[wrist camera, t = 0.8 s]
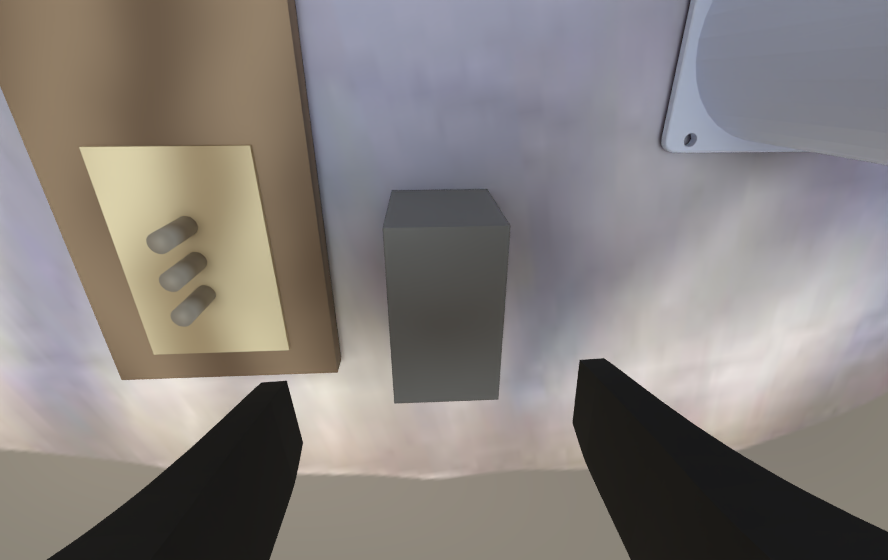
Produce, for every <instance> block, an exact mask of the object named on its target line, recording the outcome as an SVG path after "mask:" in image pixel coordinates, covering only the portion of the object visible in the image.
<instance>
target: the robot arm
mask: <svg viewBox="0 0 888 560" xmlns="http://www.w3.org/2000/svg"><path fill="white" fill-rule="evenodd" d="M688 134H691V140H690V142H689V143H688V144H687V145H685V144H684V139H685V137H686V136H687V135H688ZM661 144H662V147H663V148H664V149H665V150H666V151H669V152H673V153H715V152H815V153H821V154H826V155H832V156H838V157H843V158H849V159H855V160H860V161H866V162H872V163H877V164H883V165H888V0H691V2H690V7H689V12H688V16H687V21H686V26H685V31H684V35H683V40H682V45H681V49H680V54H679V59H678V64H677V68H676V73H675V78H674V83H673V87H672V92H671V97H670V101H669V106H668V111H667V116H666V120H665V125H664V130H663V134H662V140H661ZM573 426H574V429H575V432H576V435H577V438H578V442H579V445H580V448H581V451H582V454H583V457H584V459H585V462H586V464H587V467H588V469H589V471H590V473H591V475H592V478H593V480H594V482H595V484H596V486H597V488H598V491H599V493H600V495H601V497H602V499H603V501H604V503H605V506H606V508H607V510H608V512H609V514H610V516H611V518H612V520H613V523H614V524H615V527H616V529H617V531H618V533H619V535H620V537H621V539H622V542H623V544H624V546H625V548H626V550H627V552H628V554H629V557H630V559H631V560H888V532H887V531H885V530H882V529H880V528H879V527H876V526H874V525H872V524H870V523H868V522H866V521H864V520H862V519H860V518H857V517H855V516H853V515H851V514H849V513H847V512H846V511H844V510H841V509H840V508H837V507H836V506H833V505H832V504H829V503H828V502H826V501H824V500H822V499H820V498H818V497H816V496H814V495H812V494H810V493H808V492H806V491H804V490H802V489H801V488H799V487H797V486H795V485H793V484H791V483H789V482H788V481H786V480H784V479H782V478H780V477H779V476H777V475H775V474H773V473H772V472H770V471H768V470H766V469H765V468H763V467H761V466H760V465H758V464H756V463H754V462H753V461H751V460H749V459H748V458H746V457H744V456H742V455H741V454H739V453H738V452H736V451H734V450H733V449H731V448H730V447H728V446H726V445H725V444H723V443H722V442H720V441H719V440H717V439H716V438H714V437H713V436H711V435H710V434H708V433H707V432H705V431H704V430H702V429H700V428H699V427H697V426H696V425H695V424H693V423H692V422H690V421H689V420H687V419H686V418H684V417H683V416H682V415H680V414H679V413H677V412H676V411H675V410H673V409H672V408H670V407H669V406H668V405H666V404H665V403H663V402H662V401H661V400H659V399H658V398H657V397H655V396H654V395H653V394H651V393H650V392H649V391H647V390H646V389H645V388H643V387H642V386H641V385H639V384H638V383H637V382H635V381H634V380H633V379H631V378H630V377H629V376H627V375H626V374H625V373H623V372H622V371H621V370H619V369H618V368H617V367H615V366H614V365H613V364H611V363H610V362H609V361H607V360H606V359H604V358H602V359H588V360H580V362H579V371H578V379H577V388H576V397H575V406H574V414H573ZM302 445H303V441H302V437H301V434H300V430H299V426H298V422H297V418H296V414H295V411H294V407H293V403H292V399H291V395H290V392H289V388H288V384H287V381H277V382H263V383H261V384H259V385H258V386H257V387H256V388H255V389H254V390H253V391H251V392H250V393H249V394H248V395H247V396H246V397H245V398H244V399H243V400H242V401H241V402H240V403H239V404H238V405H237V406H236V407H234V408H233V409H232V410H231V411H230V412H229V413H228V414H227V415H226V416H225V417H224V418H223V419H222V420H221V421H220V422H219V423H217V424H216V425H215V426H214V427H213V428H212V429H211V430H210V431H209V432H208V433H207V434H206V435H205V436H203V437H202V438H201V439H200V440H199V441H198V442H197V443H196V444H195V445H194V446H193V447H191V448H190V449H189V450H188V451H187V452H186V453H185V454H183V455H182V456H181V457H180V458H179V459H178V460H176V461H175V462H174V463H173V464H172V465H171V466H169V467H168V468H167V469H166V470H165V471H164V472H162V473H161V474H160V475H159V476H158V477H157V478H155V479H154V480H153V481H152V482H151V483H150V484H149V485H147V486H146V487H145V488H144V489H142V490H141V491H140V492H139V493H137V494H136V495H135V496H134V497H132V498H131V499H130V500H129V501H127V502H126V503H125V504H123V505H122V506H121V507H120V508H118V509H117V510H116V511H115V512H113V513H112V514H110V515H109V516H108V517H106V518H105V519H104V520H102V521H101V522H100V523H98V524H97V525H96V526H95V527H93V528H92V529H90V530H89V531H88V532H86V533H85V534H84V535H82V536H81V537H79V538H78V539H76V540H75V541H73V542H72V543H71V544H69V545H68V546H66V547H65V548H63V549H62V550H60V551H59V552H57V553H56V554H55V555H53V556H51V557H50V558H49V559H47V560H269V559H270V556H271V553H272V550H273V547H274V544H275V541H276V538H277V536H278V533H279V530H280V527H281V523H282V521H283V518H284V515H285V512H286V509H287V506H288V503H289V500H290V497H291V494H292V491H293V487H294V484H295V480H296V475H297V471H298V466H299V461H300V456H301V451H302Z"/></svg>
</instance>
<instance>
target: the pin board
mask: <svg viewBox="0 0 888 560" xmlns="http://www.w3.org/2000/svg"><path fill="white" fill-rule="evenodd" d="M0 86H1V89H2V91H3V94H4V96H5V99H6V101H7V103H8V106H9V108H10V111H11V113H12V116H13V118H14V120H15V123H16V125H17V128H18V130H19V132H20V135H21V137H22V140H23V142H24V145H25V147H26V149H27V152H28V154H29V157H30V159H31V162H32V164H33V166H34V169H35V171H36V174H37V176H38V178H39V181H40V183H41V186H42V188H43V191H44V193H45V195H46V198H47V200H48V203H49V205H50V207H51V210H52V212H53V215H54V217H55V220H56V222H57V224H58V227H59V229H60V232H61V234H62V237H63V239H64V241H65V244H66V246H67V249H68V251H69V253H70V256H71V258H72V261H73V263H74V266H75V268H76V270H77V273H78V275H79V278H80V280H81V283H82V285H83V287H84V290H85V292H86V295H87V297H88V299H89V302H90V304H91V307H92V309H93V312H94V314H95V316H96V319H97V321H98V324H99V326H100V329H101V331H102V333H103V336H104V338H105V341H106V343H107V345H108V348H109V350H110V353H111V355H112V358H113V360H114V362H115V365H116V367H117V370H118V372H119V375H120V377H121V379H122V380H136V379H164V378H193V377H222V376H251V375H279V374H308V373H337V372H338V369H339V366H340V362H341V355H340V348H339V340H338V332H337V325H336V317H335V309H334V301H333V294H332V286H331V278H330V270H329V263H328V255H327V247H326V240H325V232H324V224H323V216H322V209H321V201H320V193H319V185H318V178H317V170H316V162H315V155H314V147H313V139H312V131H311V124H310V116H309V108H308V100H307V93H306V85H305V77H304V70H303V62H302V54H301V46H300V39H299V31H298V23H297V15H296V8H295V0H0Z"/></svg>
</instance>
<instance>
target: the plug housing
mask: <svg viewBox="0 0 888 560" xmlns="http://www.w3.org/2000/svg"><path fill="white" fill-rule="evenodd" d="M509 238H510V224H509V223H508V221H507V220H506V218H505V217H504V215H503V214H502V212H501V210H500V209H499V207H498V206H497V204H496V203H495V201H494V199H493V198H492V196H491V195H490V193H489V192H488V190H487V189H465V190H392V192H391V196H390V200H389V205H388V209H387V213H386V217H385V221H384V225H383V240H384V255H385V270H386V285H387V300H388V315H389V330H390V345H391V360H392V375H393V390H394V403H420V402H445V401H471V400H497V399H498V396H499V381H500V367H501V353H502V338H503V324H504V310H505V296H506V281H507V267H508V253H509Z"/></svg>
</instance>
